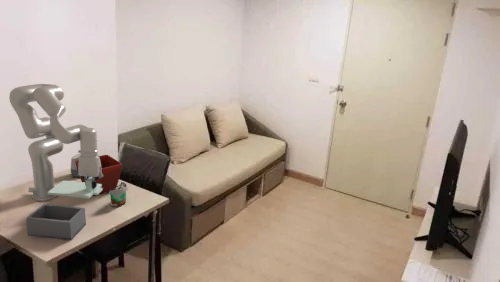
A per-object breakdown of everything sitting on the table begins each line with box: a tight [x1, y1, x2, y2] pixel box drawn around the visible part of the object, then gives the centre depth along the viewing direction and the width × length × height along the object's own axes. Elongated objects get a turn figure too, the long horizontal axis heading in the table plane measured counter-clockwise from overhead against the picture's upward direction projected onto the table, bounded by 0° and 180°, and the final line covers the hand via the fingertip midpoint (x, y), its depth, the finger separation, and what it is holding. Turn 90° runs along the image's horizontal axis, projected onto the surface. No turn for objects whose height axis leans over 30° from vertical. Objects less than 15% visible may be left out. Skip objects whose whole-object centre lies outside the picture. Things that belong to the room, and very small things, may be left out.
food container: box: [108, 181, 129, 208], centre depth 210 cm, size 12×6×10 cm, turn 168°
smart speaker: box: [70, 153, 81, 178], centre depth 240 cm, size 10×9×14 cm
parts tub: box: [25, 203, 87, 241], centre depth 182 cm, size 20×14×9 cm
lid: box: [48, 177, 103, 199], centre depth 198 cm, size 23×15×8 cm, turn 86°
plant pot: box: [75, 154, 123, 197], centre depth 223 cm, size 19×19×17 cm
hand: (91, 187), depth 198 cm, fingers closed on lid
